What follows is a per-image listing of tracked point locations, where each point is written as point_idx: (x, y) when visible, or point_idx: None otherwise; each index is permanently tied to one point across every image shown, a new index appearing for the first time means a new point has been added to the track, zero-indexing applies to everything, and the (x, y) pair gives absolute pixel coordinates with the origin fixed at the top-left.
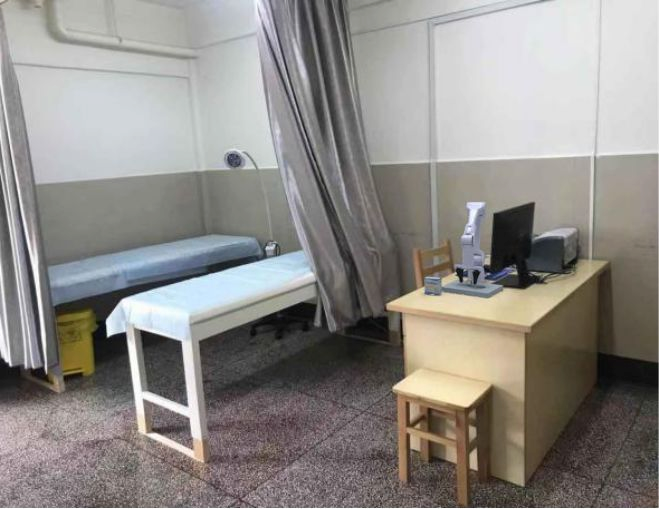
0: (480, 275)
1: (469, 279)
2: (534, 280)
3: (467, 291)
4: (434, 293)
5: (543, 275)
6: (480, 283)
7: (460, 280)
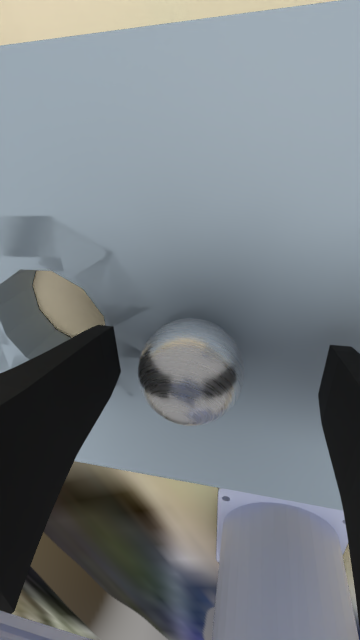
0: (216, 595)
1: (172, 396)
2: (31, 575)
3: (77, 43)
4: None
5: (58, 621)
6: (147, 452)
7: (348, 363)
